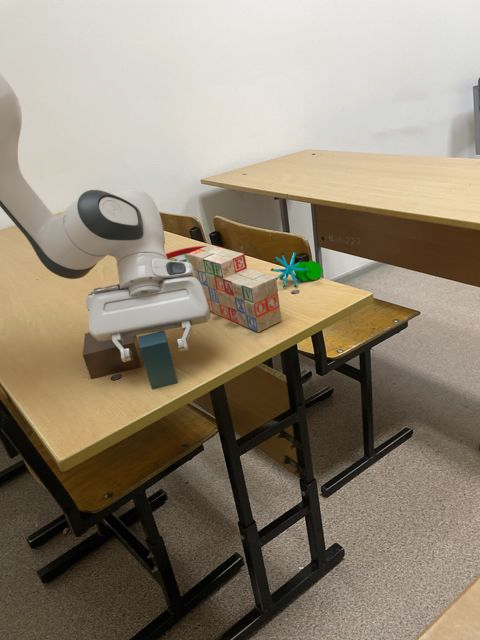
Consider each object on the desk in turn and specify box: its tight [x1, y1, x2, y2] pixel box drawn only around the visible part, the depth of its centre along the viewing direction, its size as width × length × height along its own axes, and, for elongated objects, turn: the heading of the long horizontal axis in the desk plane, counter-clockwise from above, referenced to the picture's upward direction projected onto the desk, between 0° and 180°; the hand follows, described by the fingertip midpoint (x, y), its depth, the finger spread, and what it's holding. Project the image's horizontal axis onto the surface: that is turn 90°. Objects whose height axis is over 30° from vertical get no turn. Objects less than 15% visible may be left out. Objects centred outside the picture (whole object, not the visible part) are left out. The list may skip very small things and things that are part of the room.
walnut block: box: [82, 332, 142, 380], centre depth 97 cm, size 9×9×5 cm
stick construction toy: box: [270, 252, 324, 289], centre depth 120 cm, size 12×7×8 cm
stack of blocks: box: [187, 244, 282, 333], centre depth 106 cm, size 21×6×12 cm, turn 39°
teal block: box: [138, 330, 178, 390], centre depth 88 cm, size 4×4×8 cm
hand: (155, 355), depth 88 cm, fingers open, 8 cm apart
